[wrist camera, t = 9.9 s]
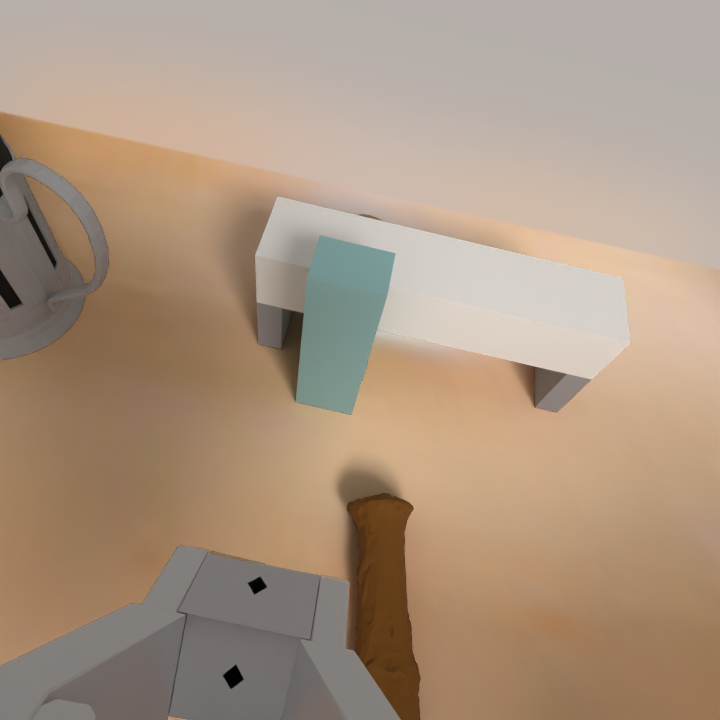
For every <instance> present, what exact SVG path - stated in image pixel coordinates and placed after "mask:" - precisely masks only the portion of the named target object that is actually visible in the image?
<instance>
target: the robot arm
mask: <svg viewBox="0 0 720 720" xmlns="http://www.w3.org/2000/svg"><path fill="white" fill-rule="evenodd" d="M349 587H350V583H349V581H348V580H345V579H340V578H335V577H329V576H324V575H321V576H319V575H315V574H310V573H305V572H300V571H295V570H290V569H285V568H280V567H275V566H271V565H266V564H264V563H260V562H256V561H252V560H248V559H244V558H240V557H235V556H231V555H227V554H223V553H219V552H215V551H210V552H209V551H208V550H206V549H202V548H197V547H192V546H188V545H183V544H182V545H180V546H179V547H177V548H176V550H175V551H174V553H173V555H172V556H171V558H170V559H169V561H168V563H167V564H166V566H165V567H164V569H163V570H162V572H161V574H160V575H159V577H158V578H157V580H156V582H155V583H154V585H153V586H152V588H151V590H150V591H149V593H148V594H147V596H146V598H145V599H144V601H143V602H142V604H141V605H140V604H135V603H131V604H129V605H127V606H125V607H123V608H121V609H118V610H116V611H114V612H112V613H110V614H108V615H106V616H104V617H102V618H100V619H97V620H95V621H93V622H91V623H89V624H87V625H85V626H83V627H81V628H79V629H76V630H74V631H72V632H70V633H68V634H66V635H64V636H62V637H60V638H58V639H55V640H53V641H51V642H49V643H47V644H45V645H43V646H41V647H39V648H37V649H34V650H32V651H30V652H28V653H26V654H24V655H22V656H20V657H18V658H16V659H13V660H11V661H9V662H7V663H5V664H3V665H1V666H0V720H167V718H168V716H172V717H177V718H183V719H189V720H401V719H400V718H399V716H398V715H397V713H396V712H395V710H394V709H393V707H392V706H391V704H390V703H389V701H388V700H387V698H386V697H385V695H384V694H383V693H382V691H381V690H380V688H379V687H378V685H377V684H376V682H375V681H374V679H373V678H372V676H371V675H370V673H369V672H368V670H367V669H366V667H365V666H364V664H363V663H362V661H361V660H360V658H359V657H358V656H357V654H356V653H355V651H354V650H350V649H346V634H347V618H348V603H349Z"/></svg>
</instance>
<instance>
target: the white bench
mask: <svg viewBox="0 0 720 720" xmlns="http://www.w3.org/2000/svg"><path fill="white" fill-rule="evenodd" d="M320 235H321V236H325V237H329V238H333V239H337V240H342V241H346V242H350V243H354V244H359V245H363V246H367V247H371V248H376V249H380V250H384V251H388V252H393V253H396V254H395V259H394V264H393V269H392V274H391V280H390V285H389V290H388V295H387V299H386V302H385V305H384V309H383V312H382V315H381V318H380V322H379V325H378V328H377V330H379V331H383V332H388V333H392V334H396V335H401V336H405V337H409V338H414V339H418V340H422V341H427V342H431V343H435V344H440V345H444V346H448V347H453V348H457V349H461V350H466V351H470V352H474V353H479V354H483V355H487V356H492V357H496V358H500V359H505V360H509V361H513V362H518V363H522V364H526V365H531V366H535V408H540V409H544V410H548V411H553V412H558V411H559V410H560V409H561V408H562V407H563V406H564V405H565V404H566V403H567V402H568V401H570V400H571V399H572V398H573V397H574V396H575V395H576V394H577V393H578V392H579V391H580V390H581V389H582V388H583V387H584V386H585V385H587V384H588V383H589V382H590V381H591V380H592V379H593V378H594V377H595V376H596V375H597V374H598V373H599V372H600V371H601V370H602V369H604V368H605V367H606V366H607V365H608V364H609V363H610V362H611V361H612V360H613V359H614V358H615V357H616V356H617V355H618V354H619V353H620V352H622V351H623V350H624V349H625V348H626V347H627V346H628V345H629V344H630V343H631V342H630V333H629V324H628V315H627V306H626V297H625V288H624V279H623V278H620V277H616V276H612V275H608V274H604V273H599V272H595V271H591V270H587V269H582V268H578V267H574V266H570V265H566V264H561V263H557V262H553V261H549V260H544V259H540V258H536V257H532V256H528V255H523V254H519V253H515V252H511V251H507V250H502V249H498V248H494V247H490V246H485V245H481V244H477V243H473V242H469V241H464V240H460V239H456V238H452V237H448V236H443V235H439V234H435V233H431V232H426V231H422V230H418V229H414V228H410V227H405V226H401V225H397V224H393V223H388V222H384V221H380V220H376V219H372V218H367V217H363V216H359V215H355V214H351V213H346V212H342V211H338V210H334V209H329V208H325V207H321V206H317V205H313V204H308V203H304V202H300V201H296V200H291V199H287V198H283V197H279V196H277V199H276V202H275V204H274V207H273V209H272V212H271V215H270V217H269V220H268V222H267V225H266V228H265V230H264V233H263V236H262V238H261V241H260V243H259V246H258V249H257V251H256V254H255V270H256V297H257V325H258V344H260V345H265V346H269V347H273V348H278V349H281V347H282V344H283V341H284V338H285V334H286V331H287V328H288V325H289V321H290V318H291V315H292V312H293V311H297V312H301V313H304V305H305V294H306V283H307V276H308V272H309V269H310V266H311V262H312V259H313V256H314V253H315V249H316V246H317V243H318V239H319V236H320Z"/></svg>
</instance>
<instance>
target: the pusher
mask: <svg viewBox="0 0 720 720" xmlns="http://www.w3.org/2000/svg"><path fill="white" fill-rule="evenodd" d="M395 254H396V253H393V252H388V251H384V250H380V249H376V248H371V247H367V246H363V245H359V244H354V243H350V242H346V241H342V240H337V239H333V238H329V237H325V236H321V235H320V236H319V239H318V243H317V246H316V249H315V253H314V256H313V259H312V262H311V266H310V269H309V272H308V276H307V283H306V294H305V305H304V316H303V327H302V338H301V349H300V360H299V371H298V382H297V393H296V402H297V403H301V404H306V405H310V406H314V407H319V408H323V409H328V410H332V411H337V412H341V413H345V414H350V415H351V414H352V411H353V407H354V404H355V401H356V398H357V394H358V391H359V388H360V384H361V381H362V380H363V377H364V374H365V370H366V367H367V363H368V358H369V355H370V351H371V348H372V345H373V342H374V338H375V335H376V332H377V328H378V325H379V322H380V318H381V315H382V312H383V309H384V305H385V302H386V299H387V295H388V290H389V285H390V280H391V274H392V269H393V264H394V259H395Z"/></svg>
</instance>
